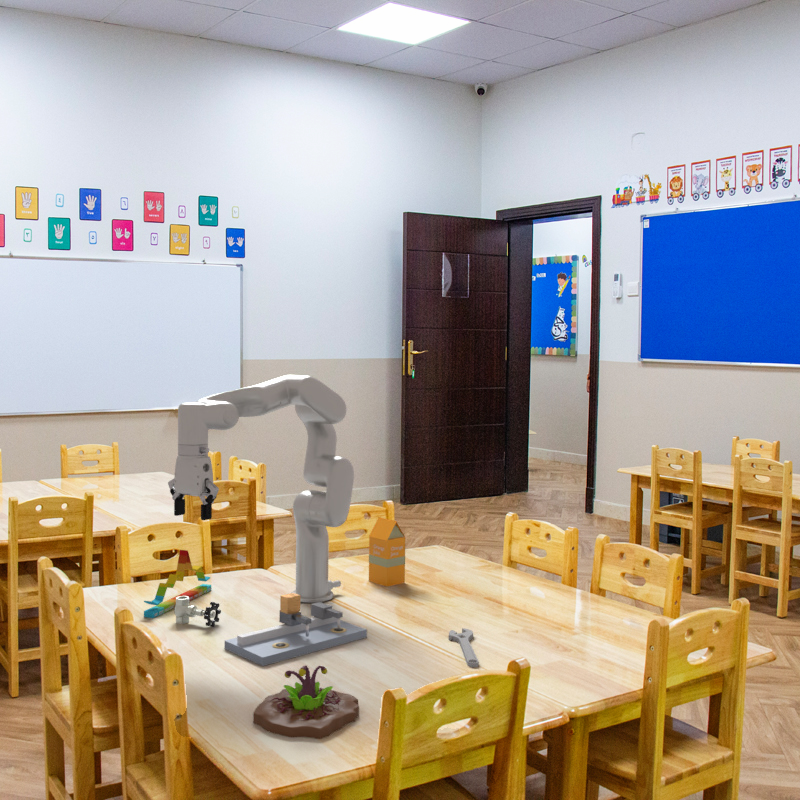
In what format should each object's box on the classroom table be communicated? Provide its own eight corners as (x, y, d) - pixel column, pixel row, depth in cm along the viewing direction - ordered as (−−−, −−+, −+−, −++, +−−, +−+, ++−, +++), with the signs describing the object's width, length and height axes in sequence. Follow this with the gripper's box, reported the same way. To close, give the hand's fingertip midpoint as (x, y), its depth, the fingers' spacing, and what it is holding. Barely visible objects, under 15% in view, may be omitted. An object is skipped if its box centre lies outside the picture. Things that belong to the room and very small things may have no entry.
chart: (154, 619, 244) (154, 564, 243) (143, 618, 245) (143, 563, 244) (212, 591, 273) (212, 542, 272) (202, 590, 274) (202, 541, 273)
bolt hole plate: (327, 622, 242) (327, 596, 242) (366, 637, 231) (367, 610, 230) (224, 648, 220) (224, 620, 220) (262, 666, 209) (262, 636, 208)
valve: (168, 624, 239) (206, 630, 234) (168, 599, 239) (207, 605, 234) (183, 617, 245) (221, 623, 241) (183, 593, 245) (221, 599, 240)
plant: (236, 728, 175) (237, 672, 175) (284, 693, 193) (285, 641, 193) (330, 746, 168) (331, 687, 167) (371, 708, 186) (371, 654, 186)
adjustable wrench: (479, 669, 210) (479, 662, 210) (451, 669, 210) (452, 661, 210) (472, 634, 235) (472, 628, 235) (447, 634, 235) (447, 627, 235)
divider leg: (290, 625, 231) (290, 592, 230) (315, 634, 223) (315, 600, 223) (277, 628, 228) (278, 594, 227) (302, 638, 221) (302, 603, 220)
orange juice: (386, 577, 292) (387, 515, 290) (405, 582, 285) (406, 519, 284) (368, 581, 286) (368, 518, 285) (386, 586, 280) (387, 522, 279)
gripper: (227, 452, 230) (227, 519, 231) (180, 447, 239) (180, 511, 240) (206, 454, 224) (205, 523, 225) (158, 449, 233) (158, 515, 234)
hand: (192, 517), depth 232 cm, fingers open, 9 cm apart
